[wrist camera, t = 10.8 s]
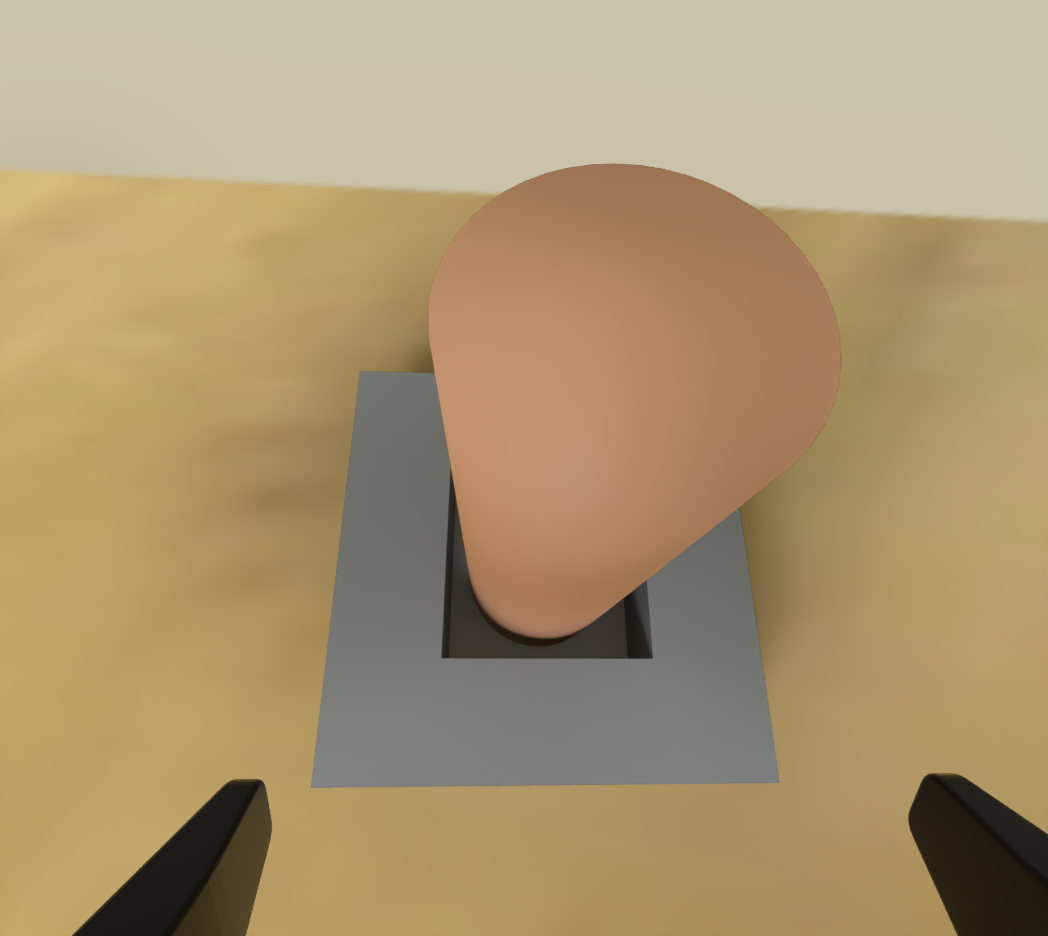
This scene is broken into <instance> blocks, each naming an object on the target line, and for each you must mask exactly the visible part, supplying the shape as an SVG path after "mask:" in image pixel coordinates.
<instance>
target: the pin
mask: <svg viewBox="0 0 1048 936" xmlns="http://www.w3.org/2000/svg"><path fill="white" fill-rule="evenodd" d="M428 326H429V341H430V347H431V353H432V359H433V365H434V371H435V377H436V382H437V388H438V394H439V400H440V406H441V412H442V418H443V424H444V430H445V435H446V441H447V447H448V453H449V459H450V465H451V471H452V477H453V482H454V488H455V494H456V500H457V506H458V512H459V518H460V524H461V530H462V535H463V541H464V547H465V553H466V559H467V565H468V571H469V577H470V582H471V588H472V593H473V597H474V600H475V603H476V606H477V607H478V609H479V611H480V613H481V615H482V616H483V618H484V619H485V621H486V622H487V623H488V624H489V625H490V626H491V627H492V628H493V629H494V630H495V631H497V632H498V633H499V634H501V635H502V636H504V637H505V638H507V639H509V640H511V641H513V642H516V643H519V644H523V645H528V646H540V647H542V646H551V645H555V644H559V643H562V642H564V641H567V640H569V639H570V638H572V637H574V636H576V635H577V634H578V633H580V632H581V631H582V630H583V629H585V628H586V627H587V626H589V625H590V624H591V623H592V622H594V621H595V620H596V619H597V618H599V617H600V616H601V615H603V614H604V613H605V612H606V611H608V610H609V609H610V608H611V607H613V606H614V605H615V604H617V603H618V602H619V601H620V600H622V599H623V598H624V597H626V596H627V595H628V594H629V593H631V592H632V591H633V590H634V589H636V588H637V587H638V586H640V585H641V584H642V583H643V582H645V581H646V580H647V579H648V578H650V577H651V576H652V575H654V574H655V573H656V572H657V571H659V570H660V569H661V568H663V567H664V566H665V565H666V564H668V563H669V562H670V561H671V560H673V559H674V558H675V557H677V556H678V555H679V554H680V553H682V552H683V551H684V550H685V549H687V548H688V547H689V546H691V545H692V544H693V543H694V542H696V541H697V540H698V539H700V538H701V537H702V536H703V535H705V534H706V533H707V532H708V531H710V530H711V529H712V528H714V527H715V526H716V525H717V524H719V523H720V522H721V521H722V520H724V519H725V518H726V517H728V516H729V515H730V514H731V513H733V512H734V511H735V510H737V509H738V508H739V507H740V506H742V505H743V504H744V503H745V502H747V501H748V500H749V499H751V498H752V497H753V496H754V495H756V494H757V493H758V492H759V491H761V490H762V489H763V488H765V487H766V486H767V485H768V484H770V483H771V482H772V481H774V480H775V479H776V478H777V477H779V476H780V475H781V474H782V473H784V472H785V471H786V470H788V469H789V468H790V467H791V466H793V465H794V464H795V463H796V462H797V460H798V459H799V458H800V457H801V456H802V455H803V454H804V453H805V452H806V451H807V450H808V449H809V448H810V446H811V445H812V443H813V442H814V440H815V439H816V437H817V436H818V434H819V433H820V431H821V430H822V428H823V427H824V425H825V423H826V420H827V418H828V416H829V414H830V412H831V409H832V407H833V405H834V401H835V397H836V393H837V389H838V386H839V380H840V370H841V345H840V335H839V330H838V325H837V321H836V316H835V313H834V310H833V307H832V304H831V302H830V299H829V296H828V294H827V292H826V290H825V288H824V286H823V284H822V282H821V280H820V278H819V276H818V274H817V272H816V271H815V270H814V268H813V267H812V265H811V264H810V262H809V261H808V259H807V258H806V257H805V255H804V254H803V252H802V251H801V250H800V249H799V248H798V247H797V246H796V245H795V243H794V242H793V241H792V240H791V239H790V238H789V237H788V235H786V234H785V233H784V232H783V231H782V230H781V229H780V228H779V227H778V226H777V225H776V224H774V223H773V222H772V221H771V220H770V219H769V218H767V217H766V216H765V215H763V214H762V213H761V212H759V211H758V210H757V209H755V208H754V207H752V206H751V205H749V204H748V203H746V202H744V201H742V200H741V199H739V198H738V197H736V196H734V195H733V194H731V193H729V192H727V191H725V190H723V189H721V188H718V187H716V186H714V185H712V184H710V183H707V182H705V181H702V180H699V179H696V178H694V177H690V176H688V175H685V174H681V173H677V172H673V171H669V170H665V169H661V168H655V167H648V166H642V165H630V164H629V165H628V164H592V165H584V166H577V167H570V168H565V169H561V170H557V171H553V172H549V173H546V174H543V175H540V176H538V177H535V178H533V179H530V180H527V181H524V182H523V183H520V184H518V185H516V186H514V187H512V188H511V189H508V190H506V191H505V192H503V193H502V194H500V195H499V196H497V197H496V198H494V199H493V200H491V201H490V202H488V203H487V204H486V205H485V206H483V207H482V208H481V209H480V210H479V211H478V212H477V213H475V214H474V215H473V216H472V217H471V218H470V219H469V220H468V221H467V222H466V224H465V225H464V226H463V227H462V228H461V229H460V231H459V232H458V233H457V234H456V236H455V237H454V239H453V240H452V242H451V243H450V245H449V247H448V248H447V250H446V251H445V253H444V255H443V258H442V260H441V262H440V264H439V267H438V269H437V271H436V274H435V278H434V282H433V285H432V289H431V293H430V301H429V311H428Z"/></svg>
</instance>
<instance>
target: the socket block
mask: <svg viewBox="0 0 1048 936" xmlns="http://www.w3.org/2000/svg"><path fill="white" fill-rule="evenodd" d="M720 783H780V781H779V774H778V768H777V761H776V754H775V747H774V740H773V733H772V727H771V720H770V713H769V706H768V699H767V692H766V685H765V679H764V672H763V665H762V658H761V651H760V644H759V638H758V631H757V624H756V617H755V610H754V603H753V597H752V590H751V583H750V576H749V569H748V562H747V556H746V549H745V542H744V535H743V528H742V521H741V515H740V508H738V509H737V510H735V511H734V512H733V513H731V514H730V515H729V516H728V517H726V518H725V519H724V520H722V521H721V522H720V523H719V524H717V525H716V526H715V527H714V528H712V529H711V530H710V531H708V532H707V533H706V534H705V535H703V536H702V537H701V538H700V539H698V540H697V541H696V542H694V543H693V544H692V545H691V546H689V547H688V548H687V549H685V550H684V551H683V552H682V553H680V554H679V555H678V556H677V557H675V558H674V559H673V560H671V561H670V562H669V563H668V564H666V565H665V566H664V567H663V568H661V569H660V570H659V571H657V572H656V573H655V574H654V575H652V576H651V577H650V578H648V579H647V580H646V581H645V582H643V583H642V584H641V585H640V586H638V587H637V588H636V589H634V590H633V591H632V592H631V593H629V594H628V595H627V596H626V597H624V598H623V599H622V600H620V601H619V602H618V603H617V604H615V605H614V606H613V607H611V608H610V609H609V610H608V611H606V612H605V613H604V614H603V615H601V616H600V617H599V618H597V619H596V620H595V621H594V622H592V623H591V624H590V625H589V626H587V627H586V628H585V629H583V630H582V631H581V632H580V633H578V634H577V635H576V636H574V637H572V638H570V639H569V640H567V641H564V642H562V643H559V644H555V645H551V646H542V647H540V646H528V645H523V644H519V643H516V642H513V641H511V640H509V639H507V638H505V637H504V636H502V635H501V634H499V633H498V632H497V631H495V630H494V629H493V628H492V627H491V626H490V625H489V624H488V623H487V622H486V621H485V619H484V618H483V616H482V615H481V613H480V611H479V609H478V607H477V606H476V603H475V600H474V597H473V593H472V588H471V582H470V577H469V571H468V565H467V559H466V553H465V547H464V541H463V535H462V530H461V524H460V518H459V512H458V506H457V500H456V494H455V488H454V482H453V477H452V471H451V465H450V459H449V453H448V447H447V441H446V435H445V430H444V424H443V418H442V412H441V406H440V400H439V394H438V388H437V382H436V377H435V373H412V372H375V371H360V374H359V383H358V391H357V400H356V409H355V417H354V426H353V434H352V443H351V451H350V460H349V468H348V477H347V485H346V494H345V502H344V511H343V519H342V528H341V536H340V545H339V553H338V562H337V570H336V579H335V587H334V596H333V604H332V613H331V621H330V630H329V638H328V647H327V655H326V664H325V672H324V681H323V689H322V698H321V707H320V715H319V724H318V732H317V741H316V749H315V758H314V766H313V775H312V783H311V788H330V787H427V786H525V785H623V784H720Z"/></svg>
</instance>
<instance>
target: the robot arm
mask: <svg viewBox="0 0 1048 936" xmlns="http://www.w3.org/2000/svg"><path fill="white" fill-rule="evenodd" d="M908 820H909V826H910V830H911V833H912V836H913V838H914V840H915V842H916V845H917V847H918V849H919V851H920V853H921V856H922V858H923V860H924V862H925V864H926V867H927V869H928V871H929V873H930V876H931V878H932V880H933V882H934V884H935V887H936V889H937V891H938V893H939V895H940V898H941V900H942V902H943V904H944V907H945V909H946V911H947V913H948V915H949V918H950V920H951V922H952V924H953V926H954V929H955V931H956V933H957V935H958V936H1048V834H1047V833H1045V832H1044V831H1042V830H1041V829H1040V828H1038V827H1037V826H1035V825H1034V824H1032V823H1031V822H1029V821H1028V820H1026V819H1025V818H1023V817H1022V816H1020V815H1019V814H1018V813H1016V812H1015V811H1013V810H1012V809H1010V808H1009V807H1007V806H1006V805H1004V804H1003V803H1001V802H1000V801H998V800H997V799H996V798H994V797H993V796H991V795H990V794H988V793H987V792H985V791H984V790H982V789H981V788H979V787H978V786H976V785H975V784H974V783H972V782H971V781H969V780H968V779H966V778H964V777H963V776H960V775H958V774H952V773H932V774H928V775H926V776H925V777H924V778H923V780H922V782H921V784H920V787H919V789H918V791H917V794H916V796H915V799H914V801H913V803H912V806H911V808H910V811H909V816H908ZM271 832H272V820H271V814H270V809H269V803H268V798H267V792H266V787H265V784H264V783H263V781H262V780H259V779H235V780H231V781H229V782H228V783H226V784H225V785H224V786H223V787H222V788H221V789H220V790H219V791H218V792H217V793H216V794H215V795H214V796H213V797H212V798H211V799H210V800H209V801H208V802H207V803H206V804H205V805H204V806H203V807H202V808H201V809H199V810H198V811H197V812H196V813H195V814H194V815H193V816H192V817H191V818H190V819H189V820H188V821H187V822H186V823H185V824H184V825H183V826H182V827H181V828H180V829H179V830H178V831H177V832H176V833H175V834H174V835H173V836H172V837H171V838H170V839H169V840H168V841H167V842H166V843H165V844H164V845H163V846H162V847H161V848H160V849H159V850H158V851H157V852H156V853H155V854H154V855H153V856H152V857H151V858H150V859H149V860H148V861H147V862H146V863H145V864H144V865H143V866H142V867H141V868H140V869H139V870H138V871H137V872H136V873H135V874H134V875H133V876H132V877H131V878H130V879H129V880H128V881H127V882H126V883H125V884H124V885H123V886H122V887H121V888H120V889H119V890H117V891H116V892H115V893H114V894H113V895H112V896H111V897H110V898H109V899H108V900H107V901H106V902H105V903H104V904H103V905H102V906H101V907H100V908H99V909H98V910H97V911H96V912H95V913H94V914H93V915H92V916H91V917H90V918H89V919H88V920H87V921H86V922H85V923H84V924H83V925H82V926H81V927H80V928H79V929H78V930H77V931H76V932H75V933H74V934H73V935H72V936H246V933H247V929H248V925H249V921H250V917H251V913H252V909H253V905H254V902H255V898H256V894H257V890H258V886H259V882H260V878H261V874H262V871H263V867H264V863H265V859H266V855H267V851H268V847H269V843H270V839H271Z"/></svg>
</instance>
